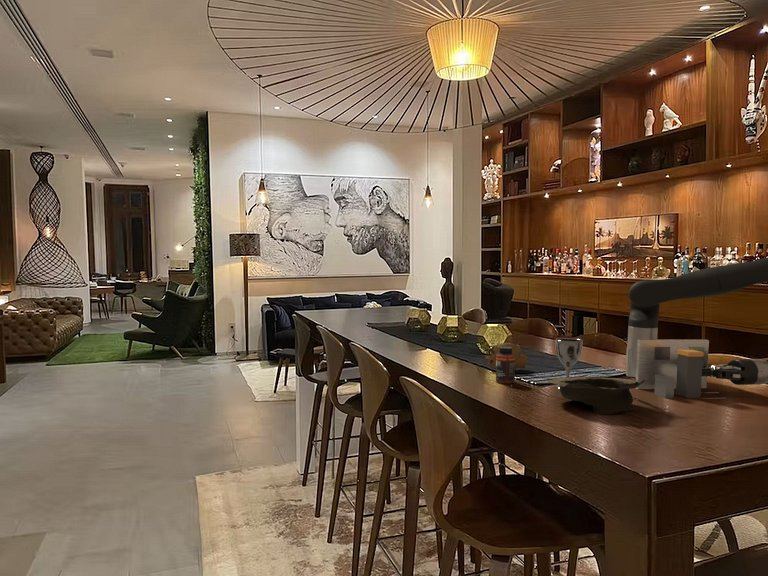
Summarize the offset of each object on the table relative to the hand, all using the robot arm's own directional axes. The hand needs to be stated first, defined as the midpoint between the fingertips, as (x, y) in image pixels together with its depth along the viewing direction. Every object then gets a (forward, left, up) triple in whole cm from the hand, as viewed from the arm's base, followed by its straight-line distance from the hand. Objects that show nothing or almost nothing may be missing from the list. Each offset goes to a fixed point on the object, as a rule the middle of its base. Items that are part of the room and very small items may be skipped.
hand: (696, 372), depth 167 cm
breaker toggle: (-2, -1, -7) cm, 7 cm away
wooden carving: (-56, +22, -8) cm, 61 cm away
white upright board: (-2, +2, -8) cm, 8 cm away
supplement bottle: (-54, +1, -8) cm, 55 cm away
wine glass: (-35, +1, -8) cm, 36 cm away
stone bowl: (-28, -20, -8) cm, 35 cm away
